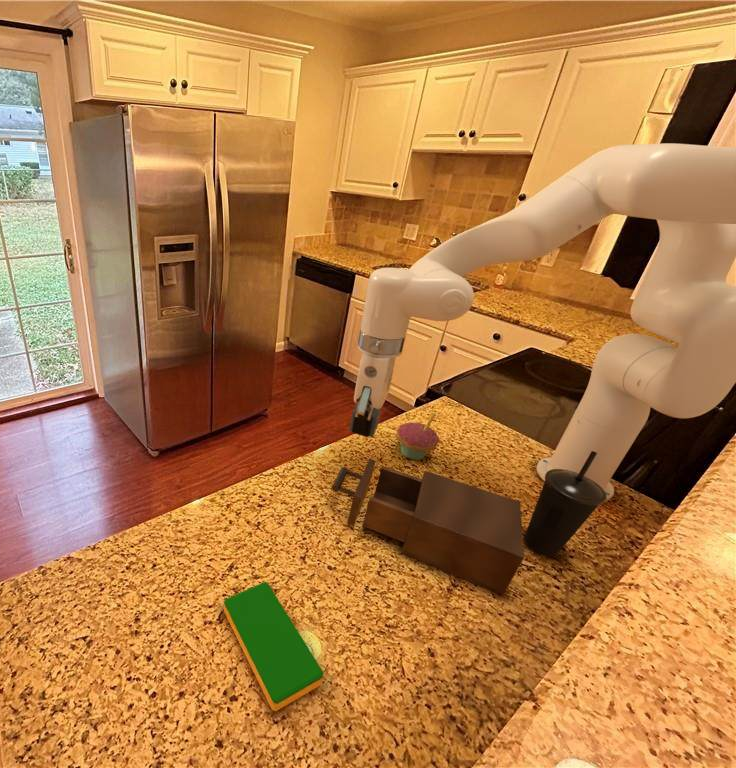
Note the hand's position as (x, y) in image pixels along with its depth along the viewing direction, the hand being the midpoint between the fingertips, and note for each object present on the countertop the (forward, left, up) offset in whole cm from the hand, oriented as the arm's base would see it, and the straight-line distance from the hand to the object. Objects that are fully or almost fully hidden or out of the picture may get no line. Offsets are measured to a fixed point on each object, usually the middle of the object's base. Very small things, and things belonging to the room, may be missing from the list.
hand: (363, 426), depth 81 cm
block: (0, 0, 0) cm, 0 cm away
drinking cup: (+2, +33, -11) cm, 35 cm away
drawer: (+10, +7, -10) cm, 16 cm away
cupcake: (-13, +10, -11) cm, 20 cm away
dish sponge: (+41, 0, -11) cm, 43 cm away
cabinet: (+10, +20, -11) cm, 25 cm away
